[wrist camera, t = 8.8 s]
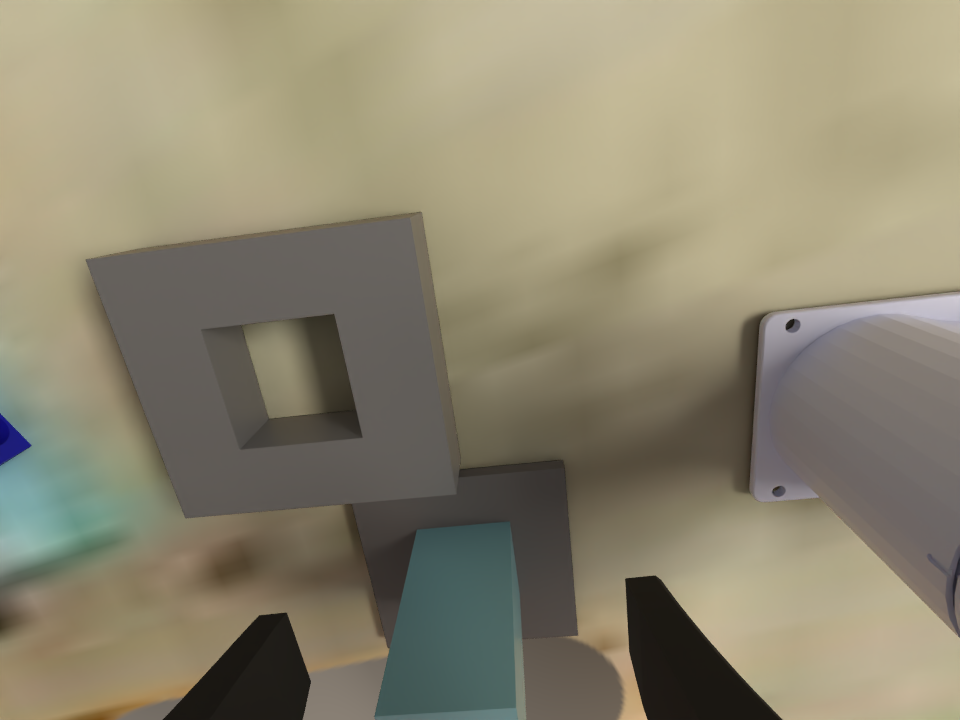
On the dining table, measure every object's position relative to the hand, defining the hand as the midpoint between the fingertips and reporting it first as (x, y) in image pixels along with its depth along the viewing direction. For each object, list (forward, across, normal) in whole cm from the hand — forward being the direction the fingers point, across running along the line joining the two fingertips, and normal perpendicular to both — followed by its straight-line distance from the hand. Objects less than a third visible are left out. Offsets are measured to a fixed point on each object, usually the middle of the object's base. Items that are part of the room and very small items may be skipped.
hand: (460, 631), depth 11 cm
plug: (+10, +1, +7) cm, 12 cm away
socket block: (+10, +6, -3) cm, 12 cm away
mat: (+10, +1, +7) cm, 13 cm away
